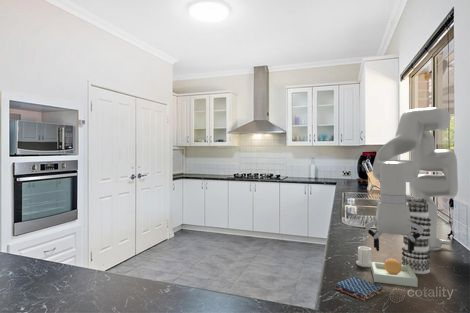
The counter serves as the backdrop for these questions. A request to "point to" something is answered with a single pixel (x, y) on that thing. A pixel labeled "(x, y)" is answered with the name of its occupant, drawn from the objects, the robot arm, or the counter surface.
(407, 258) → the patterned cylinder
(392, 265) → the ball
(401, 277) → the tray
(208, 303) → the counter surface
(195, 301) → the counter surface
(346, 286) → the woven mat
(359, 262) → the white octagonal socket
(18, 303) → the counter surface
